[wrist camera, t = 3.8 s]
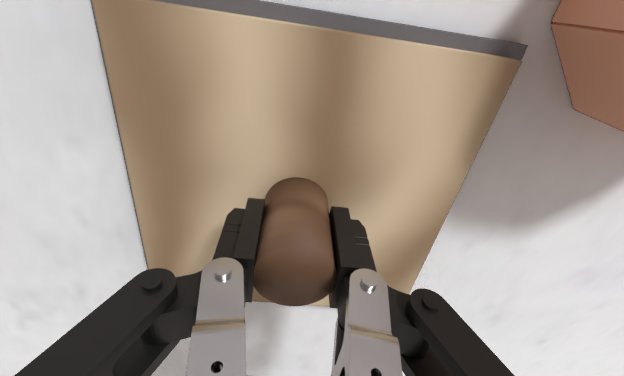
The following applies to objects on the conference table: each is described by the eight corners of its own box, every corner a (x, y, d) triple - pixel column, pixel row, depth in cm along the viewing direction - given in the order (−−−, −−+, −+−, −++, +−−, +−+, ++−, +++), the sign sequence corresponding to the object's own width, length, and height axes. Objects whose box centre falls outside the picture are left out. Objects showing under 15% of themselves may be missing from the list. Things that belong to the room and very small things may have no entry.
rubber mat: (154, 281, 19) (151, 288, 19) (93, -27, 11) (84, -28, 10) (400, 299, 21) (402, 305, 20) (519, 43, 12) (527, 45, 12)
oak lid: (159, 283, 19) (114, 376, 14) (104, -8, 10) (-43, -5, 6) (397, 300, 20) (424, 388, 16) (509, 57, 12) (632, 97, 8)
